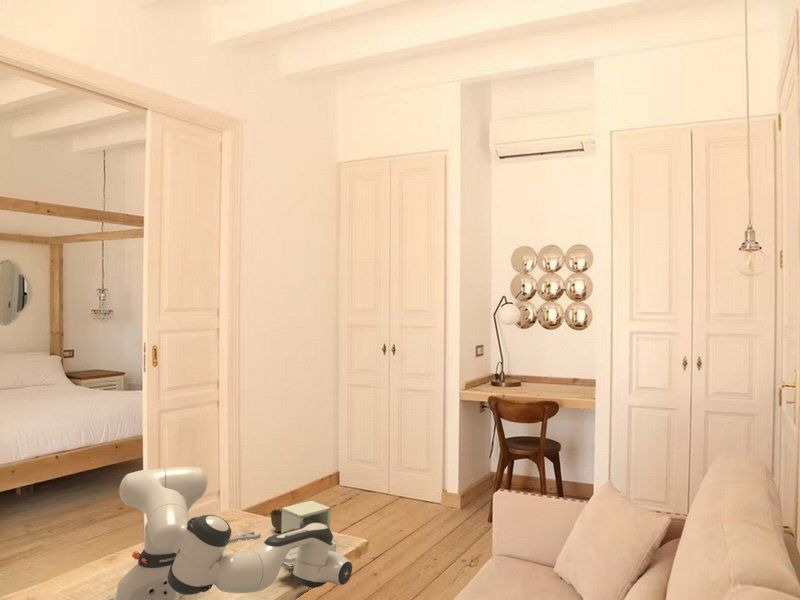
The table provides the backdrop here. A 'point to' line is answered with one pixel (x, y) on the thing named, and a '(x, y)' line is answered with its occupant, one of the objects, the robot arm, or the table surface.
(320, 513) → the cabinet
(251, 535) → the adjustable wrench
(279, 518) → the brown hollow round piece
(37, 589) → the table surface
